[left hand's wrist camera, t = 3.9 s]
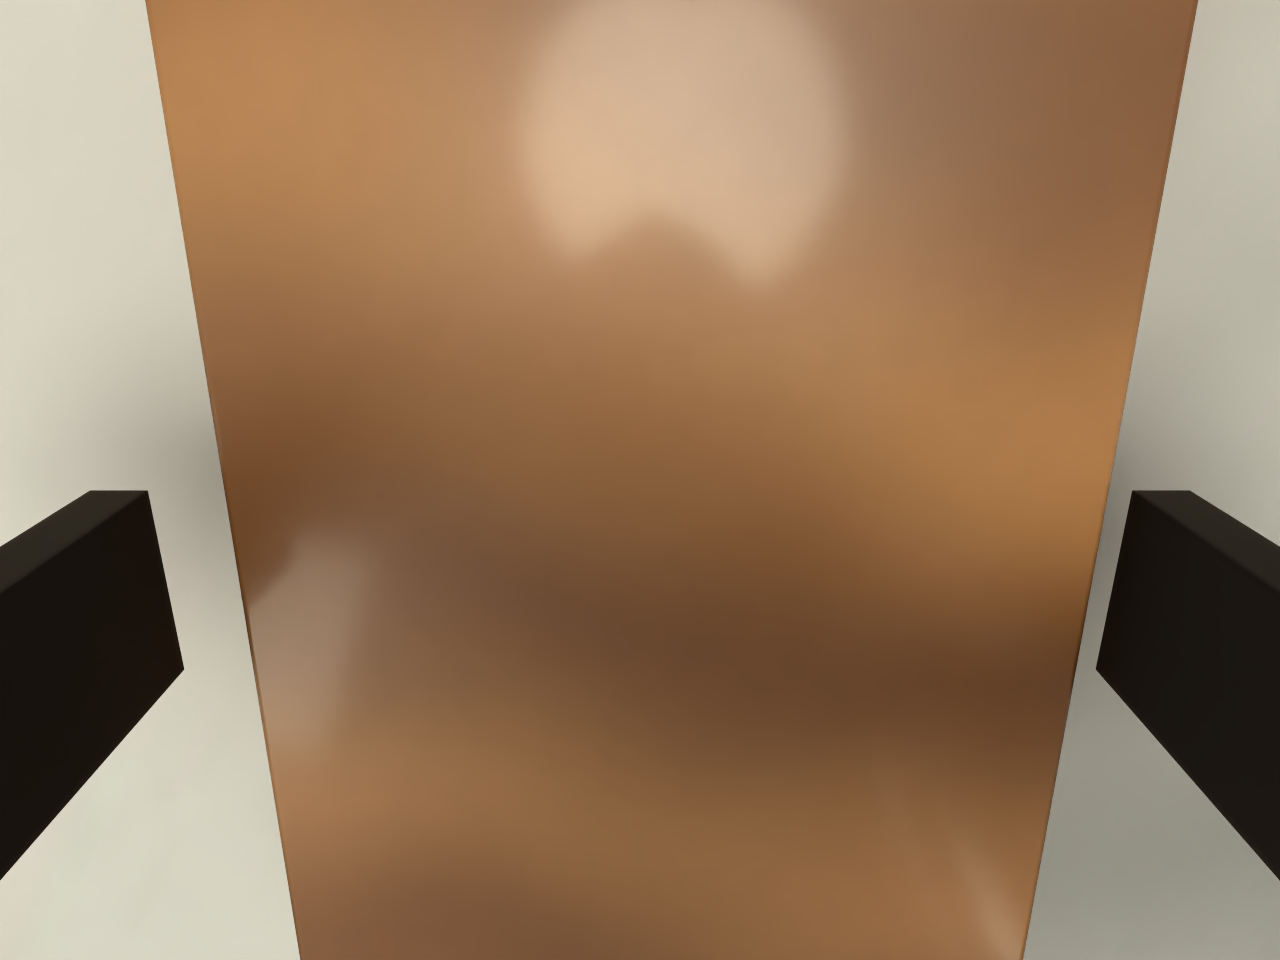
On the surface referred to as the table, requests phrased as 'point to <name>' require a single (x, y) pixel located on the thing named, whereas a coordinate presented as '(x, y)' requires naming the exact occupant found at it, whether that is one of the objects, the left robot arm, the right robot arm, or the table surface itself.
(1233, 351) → the table surface
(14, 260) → the table surface
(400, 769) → the thick board
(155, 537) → the left robot arm
